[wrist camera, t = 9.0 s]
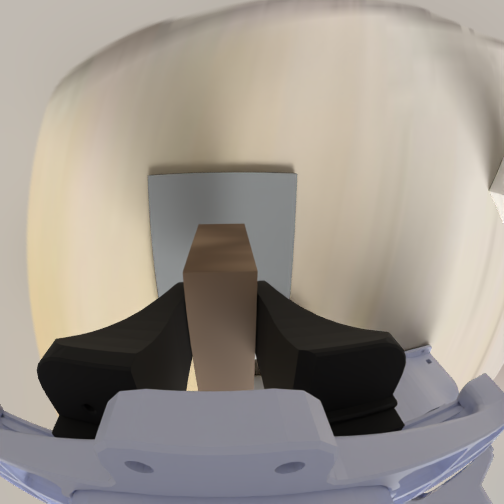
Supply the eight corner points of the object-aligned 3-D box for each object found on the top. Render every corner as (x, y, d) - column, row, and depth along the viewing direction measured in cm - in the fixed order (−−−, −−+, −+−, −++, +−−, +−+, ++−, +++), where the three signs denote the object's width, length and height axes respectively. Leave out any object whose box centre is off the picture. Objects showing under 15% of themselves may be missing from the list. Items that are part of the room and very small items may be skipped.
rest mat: (294, 173, 18) (297, 173, 18) (287, 302, 22) (289, 306, 21) (150, 175, 17) (147, 175, 17) (161, 305, 21) (160, 308, 20)
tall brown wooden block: (244, 223, 14) (257, 271, 9) (243, 319, 16) (253, 393, 11) (198, 224, 14) (182, 272, 9) (204, 320, 16) (199, 395, 11)
